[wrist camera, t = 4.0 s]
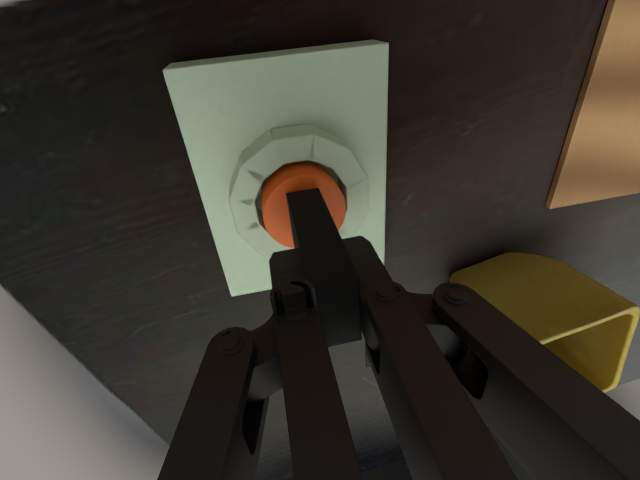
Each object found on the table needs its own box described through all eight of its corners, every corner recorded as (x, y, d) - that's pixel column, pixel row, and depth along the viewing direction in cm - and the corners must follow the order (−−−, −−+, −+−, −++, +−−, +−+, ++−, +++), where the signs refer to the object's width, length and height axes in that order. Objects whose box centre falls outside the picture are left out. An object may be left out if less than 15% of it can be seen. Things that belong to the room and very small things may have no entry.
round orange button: (254, 168, 17) (255, 182, 15) (335, 155, 17) (344, 168, 16) (268, 237, 19) (270, 256, 18) (340, 224, 20) (348, 241, 18)
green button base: (170, 62, 17) (153, 75, 13) (374, 39, 18) (405, 45, 14) (231, 275, 24) (230, 318, 21) (373, 249, 25) (394, 285, 22)
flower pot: (435, 335, 32) (495, 434, 24) (421, 264, 27) (491, 362, 19) (528, 299, 31) (617, 389, 24) (530, 222, 26) (644, 304, 19)
